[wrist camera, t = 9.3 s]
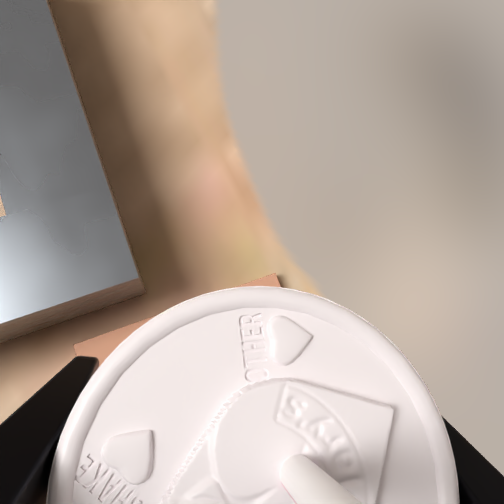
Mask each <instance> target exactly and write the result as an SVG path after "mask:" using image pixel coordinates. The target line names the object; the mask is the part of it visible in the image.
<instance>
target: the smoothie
mask: <svg viewBox="0 0 504 504" xmlns="http://www.w3.org/2000/svg"><path fill="white" fill-rule="evenodd" d="M46 504H459V488H458V478H457V471H456V465H455V459H454V455H453V451H452V447H451V443H450V439H449V436H448V433H447V430H446V427H445V424H444V421H443V418H442V416H441V414H440V412H439V409H438V407H437V405H436V403H435V400H434V399H433V397H432V395H431V393H430V391H429V389H428V388H427V386H426V384H425V382H424V381H423V379H422V378H421V376H420V375H419V373H418V372H417V370H416V369H415V368H414V366H413V365H412V364H411V362H410V361H409V360H408V359H407V357H406V356H405V355H404V354H403V353H402V352H401V351H400V349H399V348H398V347H397V346H396V345H395V344H394V343H393V342H392V341H391V340H390V339H389V338H388V337H387V336H385V335H384V334H383V333H382V332H381V331H379V329H377V328H376V327H375V326H373V325H372V324H371V323H369V322H368V321H367V320H365V319H364V318H362V317H361V316H359V315H358V314H356V313H354V312H352V311H351V310H349V309H347V308H346V307H343V306H341V305H339V304H337V303H335V302H333V301H331V300H328V299H325V298H323V297H320V296H317V295H314V294H311V293H307V292H303V291H299V290H295V289H288V288H281V287H270V286H248V287H236V288H229V289H223V290H218V291H214V292H210V293H206V294H203V295H200V296H197V297H194V298H192V299H189V300H186V301H184V302H182V303H180V304H177V305H175V306H173V307H171V308H169V309H167V310H165V311H164V312H162V313H160V314H159V315H157V316H155V317H154V318H152V319H150V320H149V321H148V322H146V323H145V324H144V325H142V326H141V327H139V328H138V329H137V330H135V331H134V332H133V333H132V334H131V335H130V336H128V337H127V338H126V339H125V340H124V341H123V342H122V343H120V344H119V345H118V346H117V348H116V349H115V350H114V351H113V352H112V353H111V354H110V355H109V356H108V357H107V358H106V359H105V360H104V362H103V363H102V364H101V365H100V367H99V368H98V369H97V370H96V372H95V373H94V374H93V376H92V377H91V379H90V380H89V382H88V383H87V385H86V386H85V388H84V389H83V391H82V392H81V394H80V396H79V398H78V399H77V401H76V403H75V405H74V407H73V409H72V411H71V413H70V415H69V417H68V419H67V422H66V424H65V427H64V429H63V431H62V434H61V436H60V440H59V443H58V446H57V449H56V452H55V455H54V459H53V464H52V468H51V473H50V477H49V483H48V491H47V499H46Z"/></svg>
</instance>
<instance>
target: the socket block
mask: <svg viewBox="0 0 504 504" xmlns="http://www.w3.org/2000/svg"><path fill="white" fill-rule="evenodd" d="M0 195H1V199H2V202H3V206H4V209H5V212H6V216H2V217H0V343H2V342H5V341H8V340H11V339H14V338H17V337H19V336H22V335H25V334H28V333H31V332H34V331H37V330H40V329H43V328H46V327H49V326H52V325H55V324H57V323H60V322H63V321H66V320H69V319H72V318H75V317H78V316H81V315H84V314H87V313H90V312H93V311H95V310H98V309H101V308H104V307H107V306H110V305H113V304H116V303H119V302H122V301H125V300H128V299H131V298H133V297H136V296H139V295H142V294H145V293H146V290H145V287H144V284H143V281H142V278H141V275H140V272H139V269H138V266H137V263H136V260H135V257H134V254H133V252H132V249H131V246H130V243H129V240H128V237H127V234H126V231H125V228H124V225H123V222H122V219H121V216H120V213H119V210H118V207H117V204H116V201H115V198H114V195H113V192H112V189H111V186H110V183H109V180H108V177H107V174H106V171H105V168H104V165H103V162H102V159H101V156H100V153H99V150H98V147H97V144H96V141H95V138H94V135H93V132H92V129H91V126H90V123H89V120H88V117H87V115H86V112H85V109H84V106H83V103H82V100H81V97H80V94H79V91H78V88H77V85H76V82H75V79H74V76H73V73H72V70H71V67H70V64H69V61H68V58H67V55H66V52H65V49H64V46H63V43H62V40H61V37H60V34H59V31H58V28H57V25H56V22H55V19H54V16H53V13H52V10H51V7H50V4H49V1H48V0H0Z"/></svg>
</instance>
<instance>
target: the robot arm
mask: <svg viewBox="0 0 504 504" xmlns="http://www.w3.org/2000/svg"><path fill="white" fill-rule="evenodd" d="M98 368H99V360H98V358H96V357H89V356H77V357H75V358H74V359H73V360H72V361H71V362H70V363H68V364H67V365H66V366H65V367H64V368H63V369H62V370H61V371H60V372H58V373H57V374H56V375H55V376H54V377H53V378H52V379H51V380H50V381H48V382H47V383H46V384H45V385H44V386H43V387H42V388H41V389H40V390H38V391H37V392H36V393H35V394H34V395H33V396H32V397H31V398H30V399H28V400H27V401H26V402H25V403H24V404H23V405H22V406H21V407H19V408H18V409H17V410H16V411H15V412H14V413H13V414H12V415H11V416H9V417H8V418H7V419H6V420H5V421H4V422H3V423H2V424H1V425H0V504H46V499H47V491H48V483H49V477H50V473H51V468H52V464H53V459H54V455H55V452H56V449H57V446H58V443H59V440H60V436H61V434H62V431H63V429H64V427H65V424H66V422H67V419H68V417H69V415H70V413H71V411H72V409H73V407H74V405H75V403H76V401H77V399H78V398H79V396H80V394H81V392H82V391H83V389H84V388H85V386H86V385H87V383H88V382H89V380H90V379H91V377H92V376H93V374H94V373H95V372H96V370H97V369H98ZM442 418H443V417H442ZM443 421H444V424H445V427H446V430H447V433H448V436H449V439H450V443H451V447H452V451H453V455H454V459H455V465H456V471H457V478H458V488H459V504H504V476H503V475H502V474H501V473H500V472H499V471H498V470H497V469H496V468H494V466H492V465H491V464H490V463H489V462H488V461H487V460H486V459H485V458H484V457H483V456H482V455H481V454H480V453H479V452H478V451H477V450H476V449H475V448H474V447H473V446H472V445H471V444H470V443H469V442H468V441H467V440H466V439H465V438H464V437H463V436H462V435H461V434H460V433H459V432H458V431H457V430H456V429H455V428H454V427H452V426H451V425H450V424H449V423H448V422H447V421H446V420H445V419H444V418H443Z"/></svg>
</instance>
